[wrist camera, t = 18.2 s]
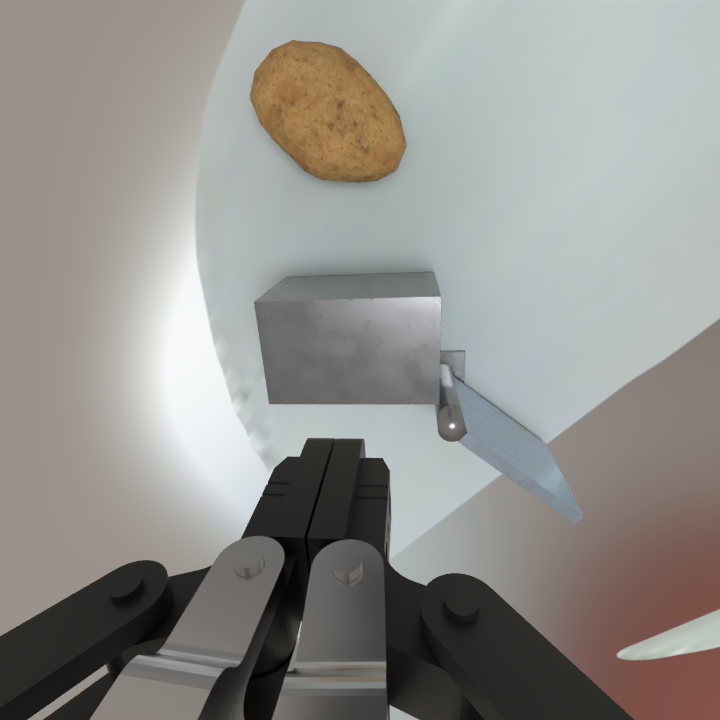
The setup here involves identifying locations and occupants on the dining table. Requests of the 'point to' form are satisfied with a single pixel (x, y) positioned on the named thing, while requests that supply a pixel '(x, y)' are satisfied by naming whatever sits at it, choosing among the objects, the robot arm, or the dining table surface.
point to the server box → (354, 339)
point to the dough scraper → (502, 444)
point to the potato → (327, 113)
